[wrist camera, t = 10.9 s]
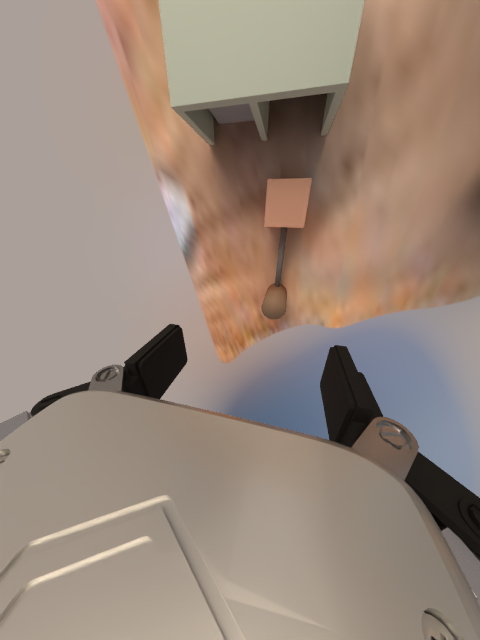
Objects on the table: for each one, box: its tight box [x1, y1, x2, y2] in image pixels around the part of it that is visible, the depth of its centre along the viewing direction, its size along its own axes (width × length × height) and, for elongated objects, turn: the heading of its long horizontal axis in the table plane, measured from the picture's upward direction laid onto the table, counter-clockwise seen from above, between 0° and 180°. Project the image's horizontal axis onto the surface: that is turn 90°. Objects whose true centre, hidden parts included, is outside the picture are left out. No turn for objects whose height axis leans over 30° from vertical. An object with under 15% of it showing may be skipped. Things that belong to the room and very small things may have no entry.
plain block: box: [209, 103, 255, 124], centre depth 20 cm, size 5×5×5 cm
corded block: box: [262, 178, 312, 319], centre depth 26 cm, size 5×17×7 cm, turn 178°
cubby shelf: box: [159, 0, 365, 145], centre depth 17 cm, size 15×12×10 cm
